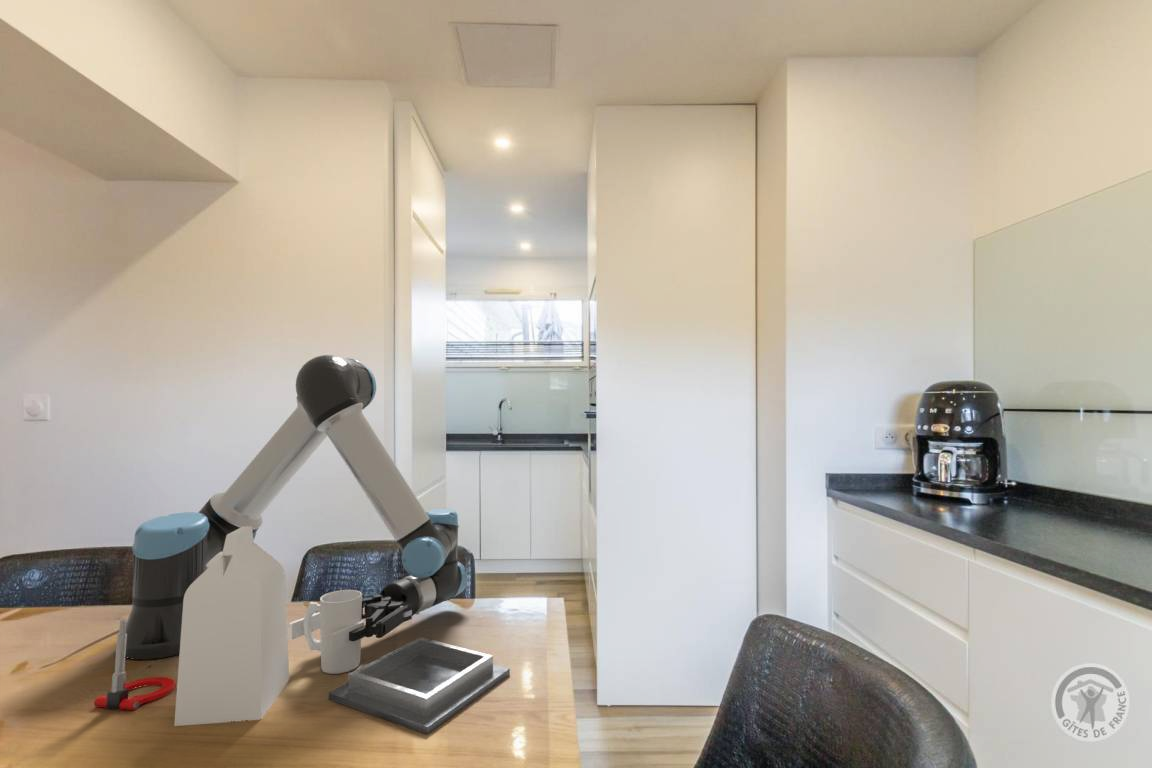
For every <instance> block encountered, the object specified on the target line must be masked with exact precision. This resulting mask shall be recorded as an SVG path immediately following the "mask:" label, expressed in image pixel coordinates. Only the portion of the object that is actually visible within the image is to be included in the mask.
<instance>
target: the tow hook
mask: <svg viewBox="0 0 1152 768" xmlns="http://www.w3.org/2000/svg"><path fill="white" fill-rule="evenodd" d="M126 623H127V618H126V619H120V620H119V630H118V632H119V633H118V634H117V636H116V645H115V646H116V648H115V649H116V651H115V661H114V662H115V663H114V673H112V678H111V679H112V680H111V690H109V691H107V695H105V696H103V695H100V696H97V697H96V698H95V700H94V703H93V705H94V707H99V708H105V709H108V708H109V709H108V710H117V709H121V710H125V709H126V711H136V710H138V709H139V707H140V706H141V705H142V704H145V703H149V702H152V701H156V700H159V699H161V698H163V697H165V696H167V695H168V694H170V693H171V692H173V691H174V689H175V688H176V681H175V680H174V679H173V678H171V677H167V676H154V677H146V678H140V679H136V680H133V681H132V680H131V681H129V682H126V681H127V671H126V670H125V669H126V668H125V667H126V658H125V657H126V643H127V633H126ZM144 685H149V686H159V685H161V686H160V687H161V688H159V689H157V690H155V691H151V692H149V693H145V694H141V695H136V696H133V697H130V698H129V691H131V690H130V689H132V690H134V689H133V688H135V687H138V688H140V687H139V686H143V687H145V686H144ZM162 686H163V687H162ZM174 687H175V688H174ZM135 689H136V688H135ZM137 708H138V709H137ZM135 709H136V710H135Z"/></svg>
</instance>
